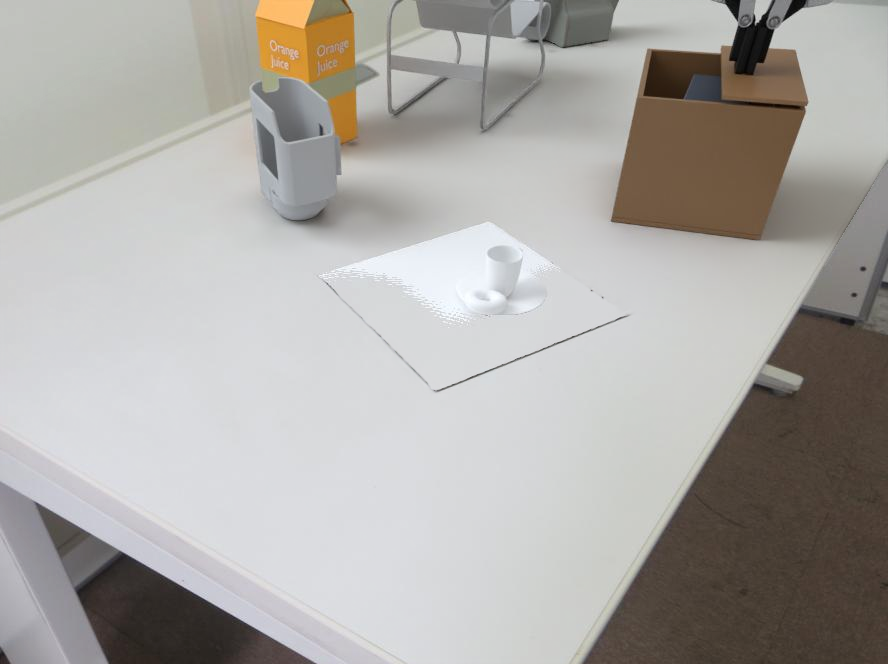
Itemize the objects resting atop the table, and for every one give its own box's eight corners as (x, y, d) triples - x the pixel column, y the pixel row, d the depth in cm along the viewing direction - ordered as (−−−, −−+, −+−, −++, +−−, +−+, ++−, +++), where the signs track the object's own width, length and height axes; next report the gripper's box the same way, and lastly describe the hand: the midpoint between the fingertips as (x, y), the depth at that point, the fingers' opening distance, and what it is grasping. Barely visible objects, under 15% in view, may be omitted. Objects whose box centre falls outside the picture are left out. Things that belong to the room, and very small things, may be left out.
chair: (385, 120, 100) (384, -50, 87) (460, 64, 116) (469, -87, 103) (479, 137, 95) (494, -42, 82) (545, 75, 111) (565, -82, 98)
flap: (794, 53, 76) (795, 49, 75) (807, 106, 65) (808, 101, 65) (720, 49, 78) (721, 45, 77) (721, 99, 67) (722, 95, 67)
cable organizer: (289, 237, 77) (279, 120, 69) (252, 189, 86) (238, 80, 78) (349, 223, 79) (345, 107, 71) (307, 177, 88) (299, 69, 80)
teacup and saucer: (484, 332, 64) (488, 291, 61) (431, 289, 69) (433, 249, 66) (565, 302, 67) (572, 261, 64) (508, 262, 72) (513, 223, 69)
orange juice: (311, 120, 101) (300, -52, 88) (358, 136, 96) (353, -43, 83) (266, 137, 97) (247, -40, 84) (313, 156, 92) (300, -29, 79)
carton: (753, 176, 84) (793, 57, 76) (759, 240, 74) (806, 111, 66) (623, 162, 88) (647, 48, 80) (610, 221, 78) (637, 97, 69)
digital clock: (607, 26, 129) (620, -45, 122) (631, 41, 122) (645, -33, 115) (515, 34, 127) (523, -38, 120) (534, 50, 120) (543, -25, 113)
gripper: (916, -179, 60) (826, 63, 72) (714, -177, 64) (661, 52, 76) (935, -170, 55) (835, 90, 67) (714, -168, 59) (658, 76, 71)
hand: (743, 69), depth 72 cm, fingers closed
